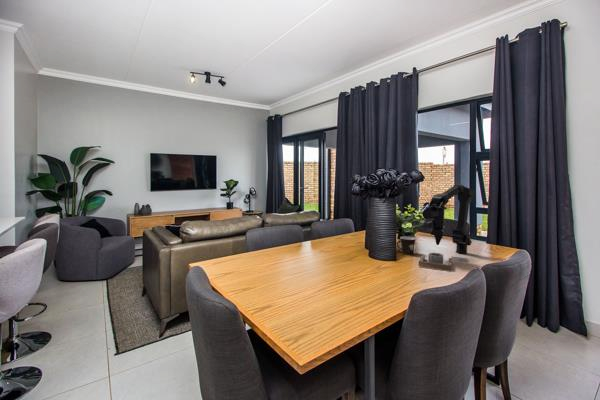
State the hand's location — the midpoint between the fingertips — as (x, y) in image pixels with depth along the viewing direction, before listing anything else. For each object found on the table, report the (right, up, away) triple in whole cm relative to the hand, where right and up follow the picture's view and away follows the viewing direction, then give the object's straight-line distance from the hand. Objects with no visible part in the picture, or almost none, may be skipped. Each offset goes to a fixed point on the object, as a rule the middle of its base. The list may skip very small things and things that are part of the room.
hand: (437, 244), depth 162 cm
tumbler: (-6, -10, -10) cm, 15 cm away
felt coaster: (+12, -9, -1) cm, 15 cm away
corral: (-6, -9, -10) cm, 15 cm away
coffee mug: (-14, -8, +12) cm, 20 cm away
